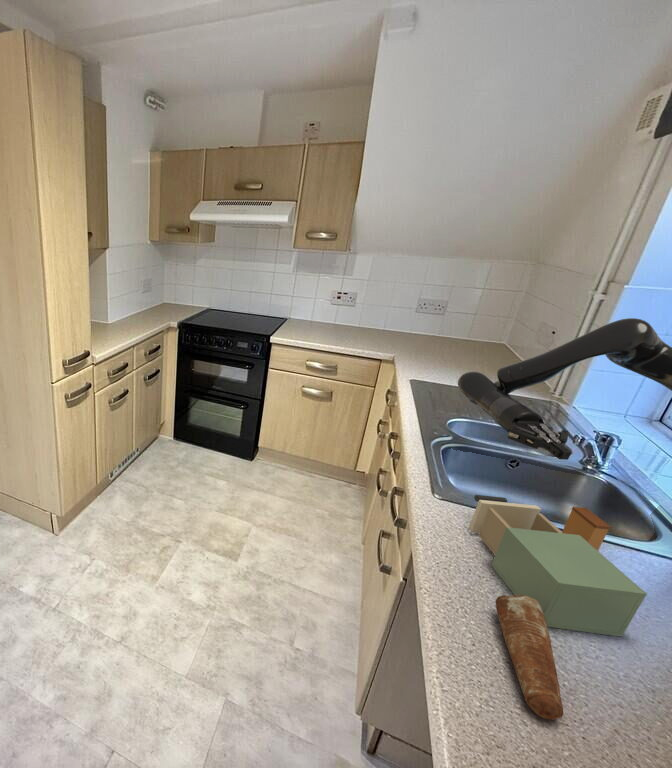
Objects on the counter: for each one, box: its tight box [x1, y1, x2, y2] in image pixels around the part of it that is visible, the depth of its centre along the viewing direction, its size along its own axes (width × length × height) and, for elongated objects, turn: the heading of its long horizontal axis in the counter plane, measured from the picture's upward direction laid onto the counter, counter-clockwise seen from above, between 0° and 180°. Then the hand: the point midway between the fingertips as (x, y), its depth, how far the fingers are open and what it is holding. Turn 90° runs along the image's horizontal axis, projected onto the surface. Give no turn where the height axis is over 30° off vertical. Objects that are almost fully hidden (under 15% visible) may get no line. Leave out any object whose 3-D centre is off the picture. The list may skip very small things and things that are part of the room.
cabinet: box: [491, 527, 648, 638], centre depth 74 cm, size 14×13×10 cm
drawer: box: [468, 494, 562, 556], centre depth 87 cm, size 18×11×8 cm, turn 171°
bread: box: [495, 594, 564, 721], centre depth 63 cm, size 6×19×6 cm, turn 148°
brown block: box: [561, 506, 611, 552], centre depth 87 cm, size 3×6×8 cm, turn 171°
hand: (566, 456), depth 90 cm, fingers closed
